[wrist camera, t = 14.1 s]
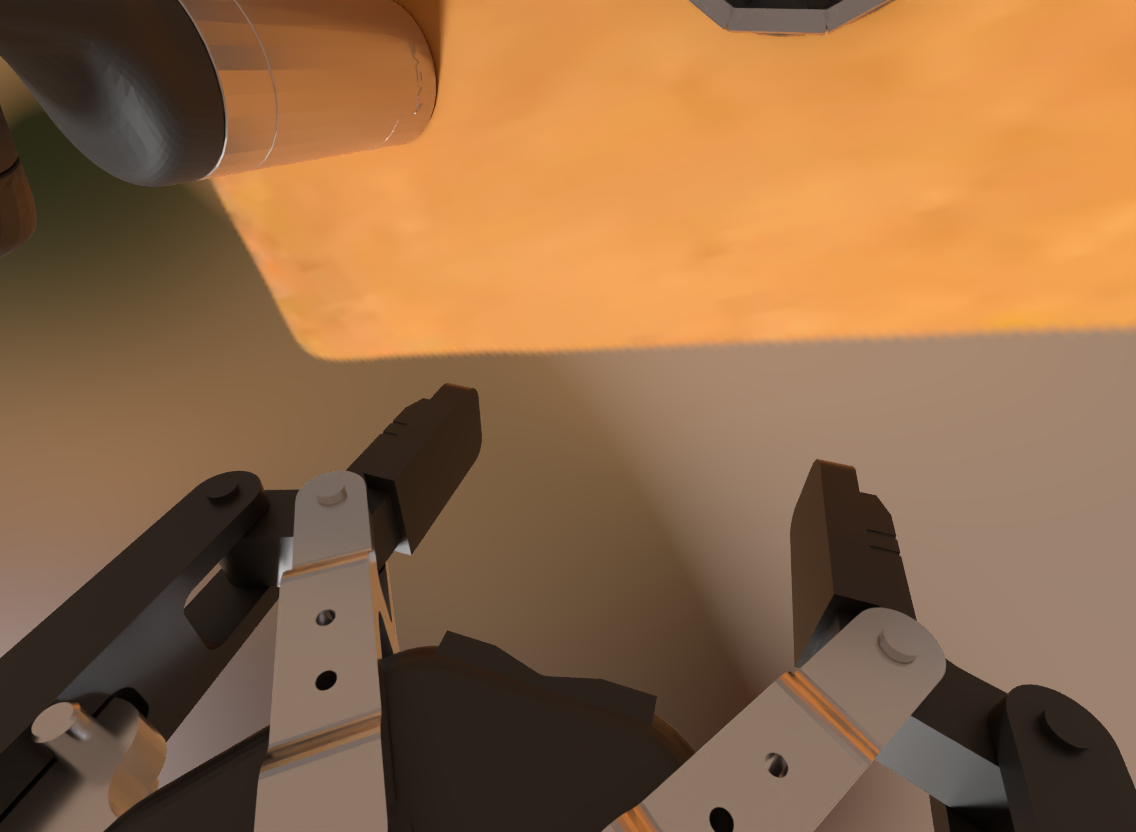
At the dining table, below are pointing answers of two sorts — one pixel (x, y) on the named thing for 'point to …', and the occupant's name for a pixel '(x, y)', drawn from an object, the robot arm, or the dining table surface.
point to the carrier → (787, 15)
